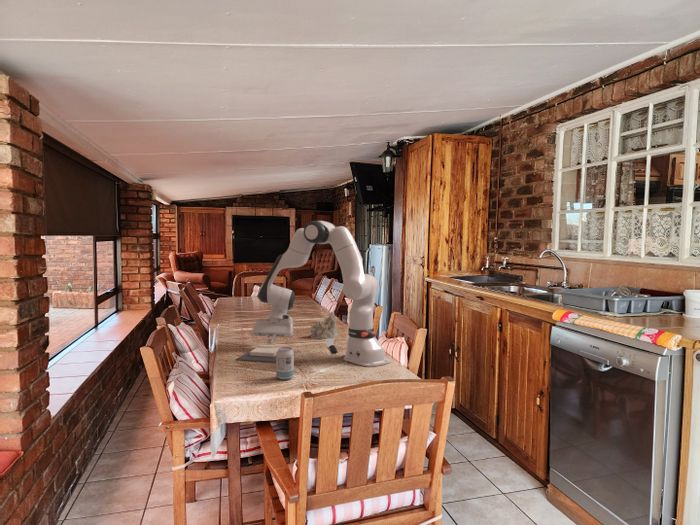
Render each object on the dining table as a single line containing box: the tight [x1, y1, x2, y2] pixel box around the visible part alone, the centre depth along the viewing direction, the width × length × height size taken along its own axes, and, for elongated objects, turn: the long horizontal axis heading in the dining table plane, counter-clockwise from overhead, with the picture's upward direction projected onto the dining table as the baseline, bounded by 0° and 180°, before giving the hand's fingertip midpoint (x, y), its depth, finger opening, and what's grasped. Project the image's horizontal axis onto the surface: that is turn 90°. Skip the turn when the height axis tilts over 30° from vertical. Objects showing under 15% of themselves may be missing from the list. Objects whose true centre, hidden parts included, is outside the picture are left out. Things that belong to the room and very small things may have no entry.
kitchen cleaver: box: [325, 338, 339, 355], centre depth 229 cm, size 31×2×10 cm
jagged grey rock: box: [310, 311, 339, 340], centre depth 252 cm, size 16×16×15 cm
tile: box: [249, 345, 281, 357], centre depth 212 cm, size 2×12×11 cm
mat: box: [235, 349, 276, 364], centre depth 208 cm, size 16×20×1 cm
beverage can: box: [275, 346, 295, 381], centre depth 177 cm, size 7×7×12 cm
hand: (269, 343), depth 215 cm, fingers closed
